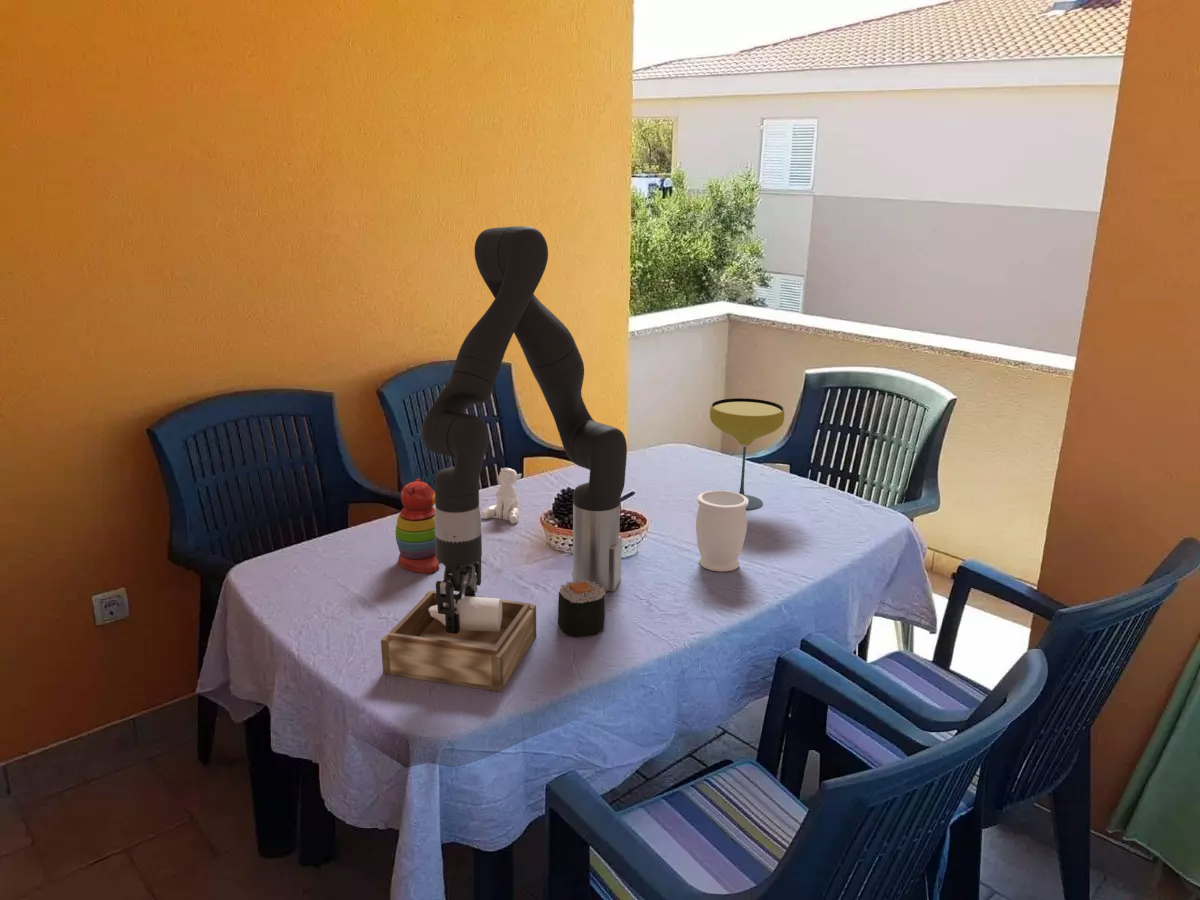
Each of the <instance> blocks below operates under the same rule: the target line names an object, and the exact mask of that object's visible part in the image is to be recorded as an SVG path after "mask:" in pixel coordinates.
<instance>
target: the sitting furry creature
mask: <svg viewBox="0 0 1200 900" xmlns="http://www.w3.org/2000/svg"><path fill="white" fill-rule="evenodd" d="M497 478H498V483H499V485H500V486H498V488H497V491H496V494H495V497H496V498H497V500H496V502H495V504H494V505H491V506H488V507H486V508H484V509H483V510H482V511H480V514H481V519H482V518H483V519H484V520H488V519H499V520H501V519H503V520H504V521H509V522H510V523H511V525H512V524H513V525H515V524H517V522H519V519H520V511H521V503H520V500H519V497H518V495H517V494H518V493H517V489H516V488H515V485H516V484H517V482H518V480H520V479H521V478H522V473H517V471H516V470H515V469H512V468H509V467H501V468H500V471H499V475H498V476H497Z"/></svg>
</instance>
